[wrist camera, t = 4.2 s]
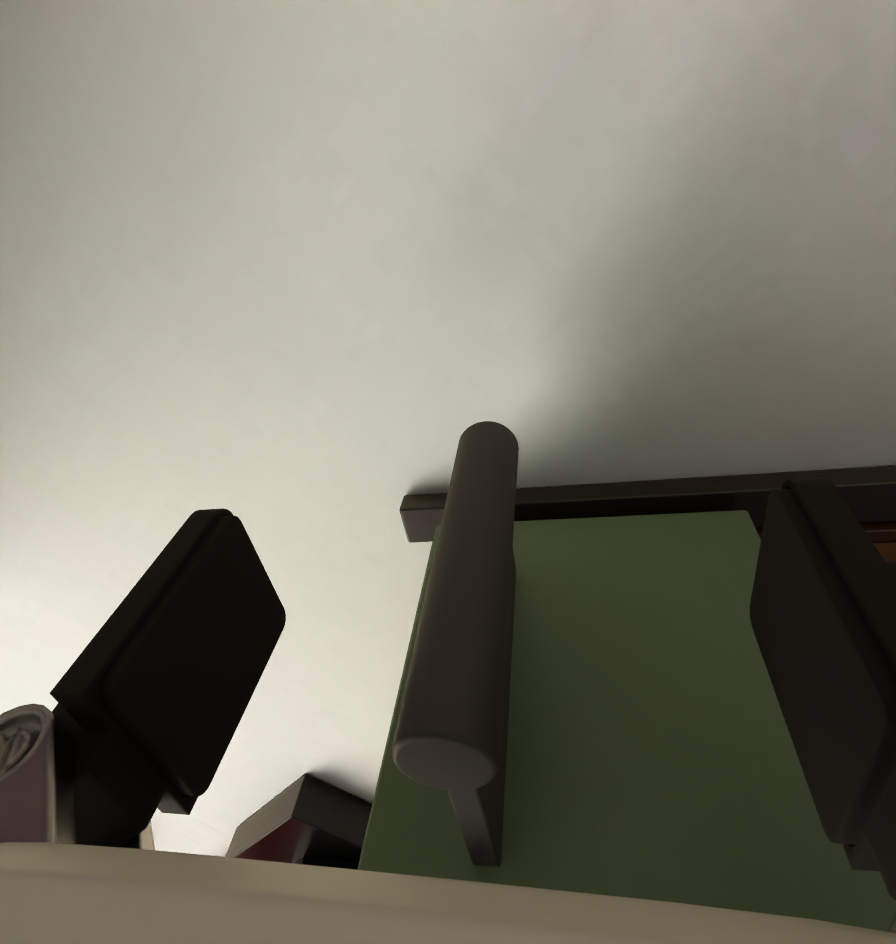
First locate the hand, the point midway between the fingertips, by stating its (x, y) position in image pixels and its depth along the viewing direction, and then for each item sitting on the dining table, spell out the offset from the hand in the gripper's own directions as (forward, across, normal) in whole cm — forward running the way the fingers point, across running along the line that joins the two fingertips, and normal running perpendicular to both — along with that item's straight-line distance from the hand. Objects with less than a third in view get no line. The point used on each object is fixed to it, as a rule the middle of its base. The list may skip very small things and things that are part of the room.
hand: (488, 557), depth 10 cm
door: (+6, -2, +2) cm, 6 cm away
